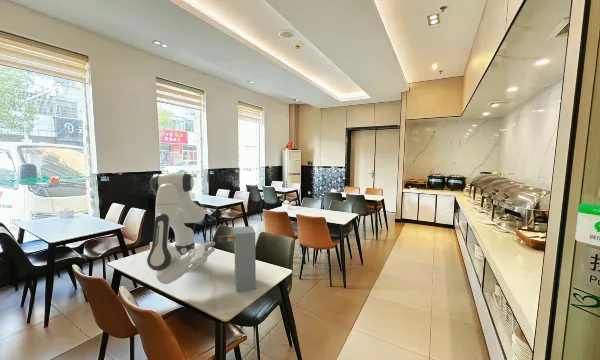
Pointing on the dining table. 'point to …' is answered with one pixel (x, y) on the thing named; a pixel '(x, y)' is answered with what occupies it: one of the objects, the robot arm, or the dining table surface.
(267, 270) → the dining table surface
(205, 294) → the dining table surface
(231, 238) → the lever
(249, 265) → the cabinet
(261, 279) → the dining table surface
